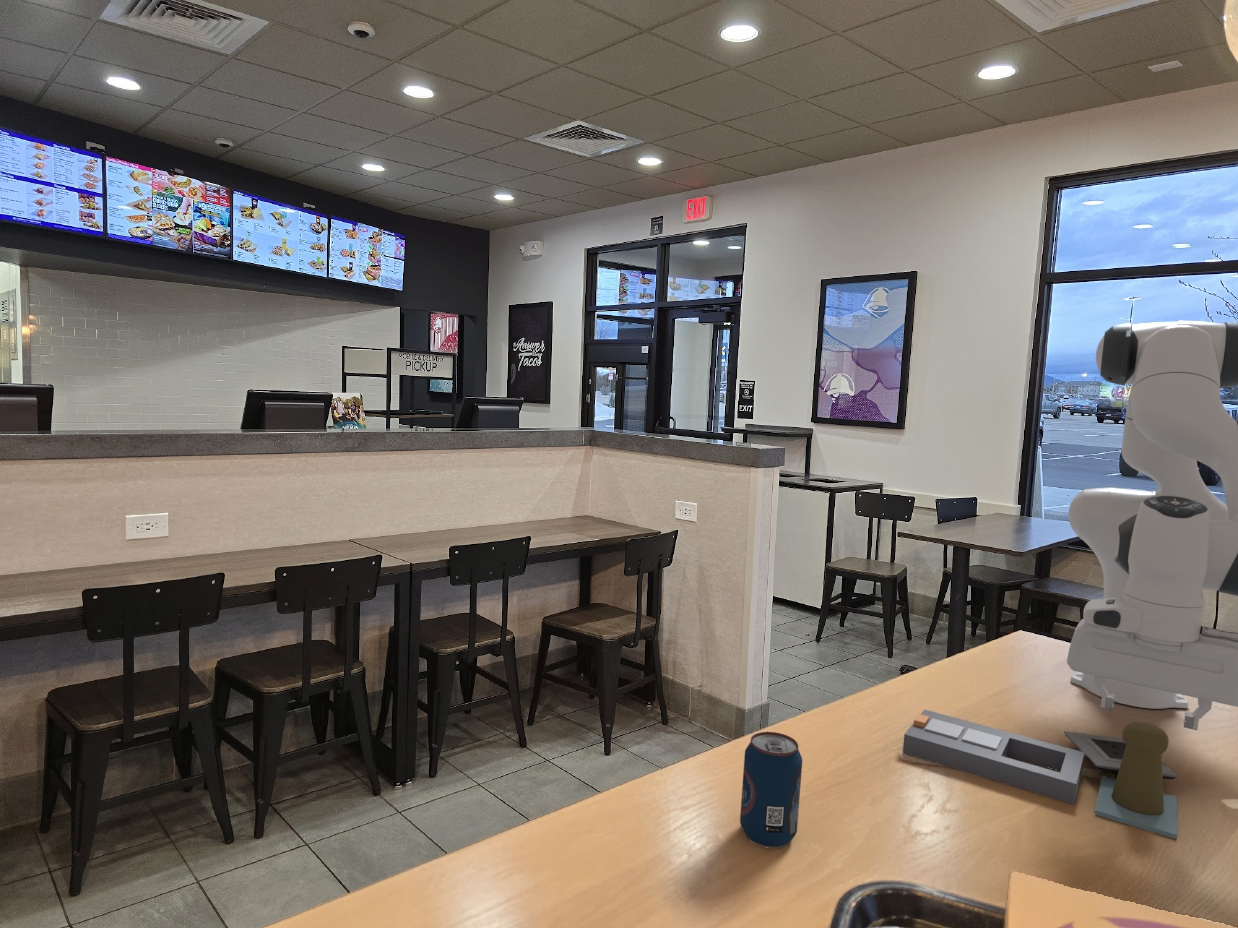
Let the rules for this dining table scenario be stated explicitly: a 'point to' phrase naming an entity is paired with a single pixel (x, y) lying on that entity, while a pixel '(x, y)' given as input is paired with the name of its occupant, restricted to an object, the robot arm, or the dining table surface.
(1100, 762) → the grey picture frame
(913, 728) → the grey slotted tray
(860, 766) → the dining table surface
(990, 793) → the dining table surface
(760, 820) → the soda can
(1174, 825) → the rubber mat
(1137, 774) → the cork
